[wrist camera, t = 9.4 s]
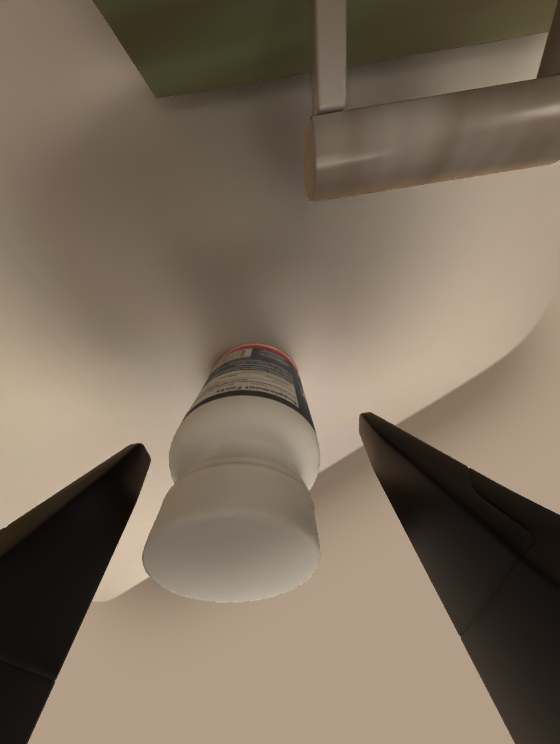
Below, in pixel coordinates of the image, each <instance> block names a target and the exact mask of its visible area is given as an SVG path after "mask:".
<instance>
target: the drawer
mask: <svg viewBox="0 0 560 744" xmlns="http://www.w3.org/2000/svg"><path fill="white" fill-rule="evenodd" d="M93 1H94V3H95V4H96V6H97V8H98V9H99V11H100V12H101V14H102V15H103V17H104V18H105V20H106V21H107V23H108V24H109V26H110V28H111V29H112V31H113V32H114V34H115V35H116V37H117V38H118V40H119V41H120V43H121V44H122V46H123V47H124V49H125V51H126V52H127V54H128V55H129V57H130V58H131V60H132V61H133V63H134V64H135V66H136V67H137V69H138V71H139V72H140V74H141V75H142V77H143V78H144V80H145V81H146V83H147V84H148V86H149V87H150V89H151V91H152V92H153V94H154V95H155V97H156V98H157V99H160V98H166V97H171V96H177V95H183V94H189V93H195V92H201V91H206V90H212V89H218V88H224V87H230V86H235V85H241V84H247V83H253V82H259V81H265V80H270V79H276V78H282V77H288V76H294V75H300V74H305V73H311V81H312V103H313V116H311V117H310V118H309V119H308V121H307V126H306V132H305V143H304V173H305V186H306V193H307V197H308V200H309V201H310V202H316V201H322V200H328V199H335V198H341V197H347V196H354V195H360V194H366V193H373V192H379V191H385V190H392V189H398V188H404V187H411V186H417V185H423V184H430V183H436V182H443V181H449V180H455V179H462V178H468V177H474V176H481V175H487V174H493V173H500V172H506V171H512V170H519V169H525V168H531V167H538V166H544V165H549V164H552V163H555V162H557V161H559V160H560V0H93ZM544 32H549V34H548V37H547V41H546V45H545V48H544V52H543V56H542V59H541V63H540V67H539V71H538V74H537V78H536V79H532V80H526V81H520V82H514V83H508V84H502V85H496V86H490V87H484V88H478V89H472V90H466V91H460V92H454V93H448V94H442V95H436V96H430V97H424V98H418V99H412V100H406V101H400V102H394V103H388V104H382V105H376V106H370V107H364V108H358V109H352V110H346V111H343V110H344V108H345V105H346V66H352V65H358V64H364V63H369V62H375V61H381V60H387V59H393V58H399V57H404V56H410V55H416V54H422V53H428V52H434V51H439V50H445V49H451V48H457V47H463V46H469V45H474V44H480V43H486V42H492V41H498V40H503V39H509V38H515V37H521V36H527V35H533V34H538V33H544Z"/></svg>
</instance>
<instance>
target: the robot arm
mask: <svg viewBox="0 0 560 744" xmlns="http://www.w3.org/2000/svg"><path fill="white" fill-rule="evenodd" d="M359 433H360V436H361V439H362V441H363V444H364V446H365V449H366V451H367V454H368V457H369V459H370V462H371V464H372V466H373V469H374V471H375V473H376V476H377V477H378V479H379V481H380V483H381V485H382V487H383V489H384V491H385V493H386V495H387V497H388V499H389V501H390V503H391V504H392V507H393V508H394V510H395V512H396V514H397V516H398V518H399V520H400V522H401V524H402V526H403V528H404V530H405V532H406V534H407V535H408V537H409V539H410V541H411V543H412V545H413V547H414V549H415V551H416V553H417V555H418V557H419V559H420V561H421V563H422V564H423V566H424V568H425V570H426V572H427V574H428V576H429V578H430V580H431V582H432V584H433V586H434V588H435V590H436V591H437V593H438V595H439V597H440V599H441V601H442V603H443V605H444V607H445V609H446V611H447V613H448V615H449V617H450V618H451V620H452V622H453V624H454V626H455V628H456V630H457V632H458V634H459V635H460V636H461V640H462V642H463V644H464V646H465V648H466V650H467V652H468V654H469V655H470V658H471V659H472V661H473V663H474V665H475V667H476V669H477V671H478V673H479V675H480V677H481V679H482V681H483V683H484V685H485V687H486V688H487V690H488V692H489V694H490V696H491V698H492V700H493V702H494V704H495V706H496V708H497V710H498V712H499V714H500V715H501V717H502V719H503V721H504V723H505V725H506V727H507V729H508V731H509V733H510V735H511V737H512V739H513V740H514V743H515V744H560V515H559V514H556V513H555V512H553V511H551V510H549V509H546V508H544V507H543V506H541V505H538V504H537V503H534V502H533V501H531V500H529V499H527V498H525V497H523V496H521V495H519V494H517V493H515V492H513V491H511V490H509V489H507V488H506V487H504V486H502V485H500V484H498V483H496V482H495V481H493V480H491V479H489V478H487V477H485V476H484V475H482V474H480V473H478V472H476V471H475V470H473V469H471V468H469V469H468V467H467V466H466V465H464V464H462V463H460V462H459V461H457V460H455V459H453V458H451V457H450V456H448V455H446V454H444V453H442V452H441V451H439V450H437V449H435V448H434V447H432V446H430V445H428V444H427V443H425V442H423V441H421V440H419V439H418V438H416V437H414V436H412V435H411V434H409V433H407V432H405V431H403V430H402V429H400V428H398V427H396V426H395V425H393V424H391V423H389V422H387V421H386V420H384V419H382V418H380V417H379V416H377V415H375V414H373V413H371V412H367V413H361V414H360V417H359ZM150 462H151V458H150V455H149V454H148V452H147V450H146V448H145V447H144V445H143V444H141V443H137V444H131V445H129V446H127V447H126V448H124V449H123V450H121V451H120V452H118V453H117V454H115V455H114V456H112V457H111V458H109V459H108V460H106V461H105V462H103V463H101V464H100V465H98V466H97V467H95V468H94V469H92V470H91V471H89V472H88V473H86V474H85V475H83V476H82V477H80V478H79V479H77V480H76V481H74V482H73V483H71V484H70V485H68V486H67V487H65V488H64V489H62V490H61V491H59V492H58V493H56V494H55V495H53V496H52V497H50V498H49V499H47V500H45V501H44V502H42V503H41V504H39V505H38V506H36V507H35V508H33V509H32V510H30V511H29V512H27V513H26V514H24V515H23V516H21V517H20V518H18V519H17V520H15V521H14V522H12V523H11V524H9V525H8V526H7V527H5V528H3V529H1V530H0V744H27V743H28V741H29V739H30V737H31V734H32V732H33V730H34V728H35V725H36V723H37V721H38V719H39V717H40V714H41V712H42V710H43V708H44V706H45V703H46V701H47V699H48V697H49V695H50V692H51V690H52V688H53V686H54V684H55V680H56V679H57V676H58V674H59V672H60V670H61V668H62V665H63V663H64V661H65V659H66V657H67V654H68V652H69V650H70V648H71V646H72V643H73V641H74V639H75V637H76V635H77V632H78V630H79V628H80V626H81V623H82V621H83V619H84V617H85V614H86V613H87V610H88V608H89V606H90V603H91V602H92V599H93V597H94V595H95V593H96V590H97V588H98V586H99V584H100V582H101V579H102V577H103V575H104V573H105V571H106V568H107V566H108V564H109V562H110V560H111V557H112V555H113V553H114V551H115V549H116V546H117V544H118V542H119V540H120V538H121V535H122V533H123V531H124V529H125V527H126V524H127V522H128V520H129V518H130V516H131V513H132V511H133V509H134V507H135V504H136V502H137V499H138V497H139V494H140V491H141V488H142V486H143V483H144V480H145V477H146V474H147V471H148V468H149V466H150Z"/></svg>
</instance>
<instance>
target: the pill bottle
mask: <svg viewBox="0 0 560 744" xmlns="http://www.w3.org/2000/svg"><path fill="white" fill-rule="evenodd" d="M319 466H320V449H319V444H318V439H317V435H316V432H315V428H314V425H313V421H312V418H311V415H310V411H309V408H308V404H307V401H306V397H305V394H304V390H303V387H302V383H301V380H300V376H299V374H298V371H297V368H296V366H295V365H294V363H293V362H292V360H291V359H290V358H289V357H288V356H287V355H286V354H285V353H283V352H282V351H280V350H279V349H277V348H275V347H272V346H269V345H265V344H258V343H251V344H244V345H241V346H238V347H235V348H233V349H232V350H230V351H228V352H227V353H226V354H225V355H224V356H223V357H222V358H221V359H220V360H219V361H218V363H217V364H216V366H215V367H214V369H213V371H212V373H211V374H210V376H209V378H208V380H207V381H206V383H205V385H204V386H203V388H202V390H201V392H200V393H199V395H198V397H197V398H196V400H195V402H194V403H193V405H192V406H191V408H190V410H189V411H188V412H187V414H186V415H185V417H184V419H183V420H182V422H181V424H180V426H179V428H178V430H177V432H176V434H175V435H174V438H173V441H172V443H171V447H170V452H169V467H170V471H171V475H172V478H173V481H174V483H175V484H174V485H173V486H172V487H171V489H170V490H169V491H168V493H167V494H166V496H165V498H164V500H163V503H162V506H161V508H160V511H159V513H158V515H157V518H156V520H155V522H154V524H153V527H152V529H151V531H150V534H149V536H148V538H147V541H146V544H145V546H144V550H143V555H142V561H143V566H144V568H145V571H146V572H147V574H148V575H149V576H150V577H151V578H152V579H153V580H154V581H155V582H156V583H157V584H158V585H160V586H162V587H163V588H165V589H167V590H168V591H170V592H172V593H175V594H178V595H181V596H184V597H188V598H192V599H197V600H202V601H208V602H218V603H239V602H249V601H257V600H263V599H267V598H271V597H275V596H278V595H281V594H283V593H286V592H288V591H291V590H293V589H295V588H297V587H299V586H300V585H301V584H303V583H305V582H306V581H307V580H308V579H309V578H310V577H311V576H312V575H313V574H314V572H315V571H316V568H317V566H318V564H319V560H320V544H319V539H318V532H317V526H316V520H315V514H314V505H313V501H312V498H311V496H310V493H309V491H310V489H311V488H312V486H313V484H314V482H315V480H316V478H317V475H318V471H319Z"/></svg>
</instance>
